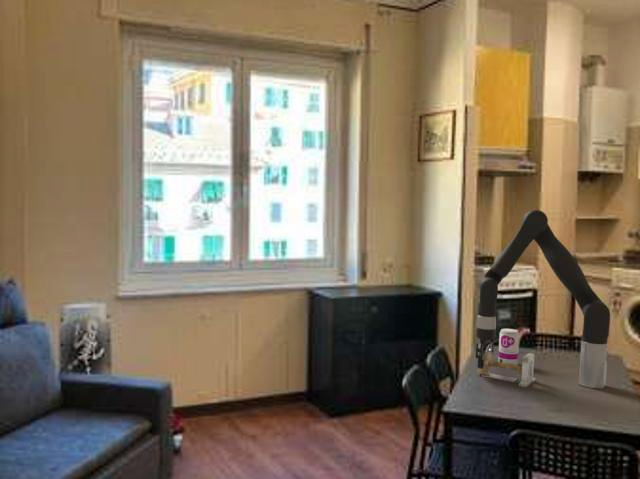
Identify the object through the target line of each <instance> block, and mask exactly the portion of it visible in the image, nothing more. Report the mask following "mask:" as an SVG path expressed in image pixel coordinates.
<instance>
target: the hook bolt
mask: <svg viewBox="0 0 640 479" xmlns="http://www.w3.org/2000/svg"><path fill="white" fill-rule="evenodd" d="M480 356H481V354H480ZM491 367H496V368H502V369H506V370H507V369H508V370H513V371H517V372H518V377H520V378H522V365H518V364H517V365H513V364H507V363H501V362H498V361H494V360H492V355H491V351H487V354H486V355H485V356H484V365H483V368H482V369H480V368H478V367H476V368H477V369H476V370H477V371H476V372H477V373H476V374H481V375H482V374H485V375H488V374H489V373H491Z"/></svg>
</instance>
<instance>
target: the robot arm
mask: <svg viewBox="0 0 640 479" xmlns="http://www.w3.org/2000/svg"><path fill="white" fill-rule="evenodd" d="M521 220H522V222H521V223H522V224H521V225H520V227H519V230H518V231H517V233H516V234H515V236H514V237H513V238H512V240H511V241H510V242H509V243H508V245H507V246H506V247H505V248H504V249H503V250H502V252H501V253H500V254H499V256H497V258H496V260H494V262H493V264H492V265H491V267H490V268H489V269H488V270H487V271H486V273H485V274H483V276H482V277H481V279H480V280H479V282H478V288H479V302H478V306H477V318H476V329H475V331H476V333H475V337H476V338H477V339H479V342H476V345H475V346H476V348H475V358H476V359H477V367H478V368H480V369H482V368H483V365H484V356H485V355H486V354H487V351H491V356H492V355H493V353H494V347H495V346H494V344H495V341H494V340H495V339H496V328H497V327H496V326H497V325H496V324H497V318H496V313H497V299H498V295H499V294H498V293H499V284H501V282H502V281H503V279H505V278H506V277H507V276H508V275H509V273H510V272H511V271H512V270H513V268H514V267H515V265H516V264H517V262H518V261H519V260H520V258H521V256H522V255H523V253H524V252H525V251H526V249H527V248H528V246H530V244H531V243H532V242H533V240H534V241H535V243H536V244H537V245H538V246H539V249H540V250H541V252H542V254H543V256H544V259H546V261H547V262H548V263H547V264H548V265H549V266H550V268H551V270H552V271H553V273H554V275H556V277H557V278H558V280H559V281H560V282H561V284H562V285H563V287H564V288H566V289H567V291H568V292H569V293H570V294H571V295H572V296H573V297H574V300H575V301H576V302H577V304H578V306H579V309H580V311H581V313H582V315H583V325H582V334H581V343H580V344H581V345H580V358H579V359H580V361H579V362H580V363H579V376H578V384H579V385H581V386H583V387H586V388H591V389H600V390H602V389H604V388H605V386H606V383H607V368H608V361H607V351H608V338H609V336H610V335H609V334H610V324H611V312H610V308H609V307H608V306H607V304H606V303H605V302H604V301H602V300H601V299H600V297H599V296H598V295H597V293H596V292H595V291H594V290H593V289H592V287H591V286H590V284H589V282H588V280H587V278H586V275H585V274H584V271H583V270H582V268H581V266H580V265H579V264H578V262H577V260H576V259H575V257H574V256H573V255H572V253H571V252H570V251H569V250H568V248H566V246H565V245H564V244H563V243H562V242H561V241H560V240H559V239H558V238H557V236H555V234H554V232H553V230H552V229H551V227H550V226H549V225H550V224H549V223H548V222H549V220H548V216H547V215H546V213H545V212H544V211H542V210H538V209H533V210H532V209H531V210H529V211H527V212H526V213H525V214H524V215H523V217H522V219H521ZM480 354H481V356H480ZM477 367H476V368H477Z"/></svg>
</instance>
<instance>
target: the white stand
mask: <svg viewBox="0 0 640 479" xmlns="http://www.w3.org/2000/svg"><path fill="white" fill-rule="evenodd" d="M521 366H522V377H521V380H520V382H519V383H518V386H519V387H522V388H529V386H530V385H532V384H533V383H534V382H535V381H536V377H534V369H535V367H534V366H535V353H532V352H528V353H527V354H525V355H524V356H522V364H521ZM481 377H484V378H489V379H494V380H500V381H505V382H511V383H515V382H516V381H518V378H517V377H513V376H507V375H501V374H496V373H491V372H490V373H489V374H488V375H485V374H481Z"/></svg>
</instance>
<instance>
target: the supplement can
mask: <svg viewBox="0 0 640 479" xmlns="http://www.w3.org/2000/svg"><path fill="white" fill-rule="evenodd" d="M519 350H520V333H519V330H518V329H514V328H501V329H500V331H499V339H498V359H497V362H501V363H507V364H513V365H518V364H519V353H520V352H519Z"/></svg>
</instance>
